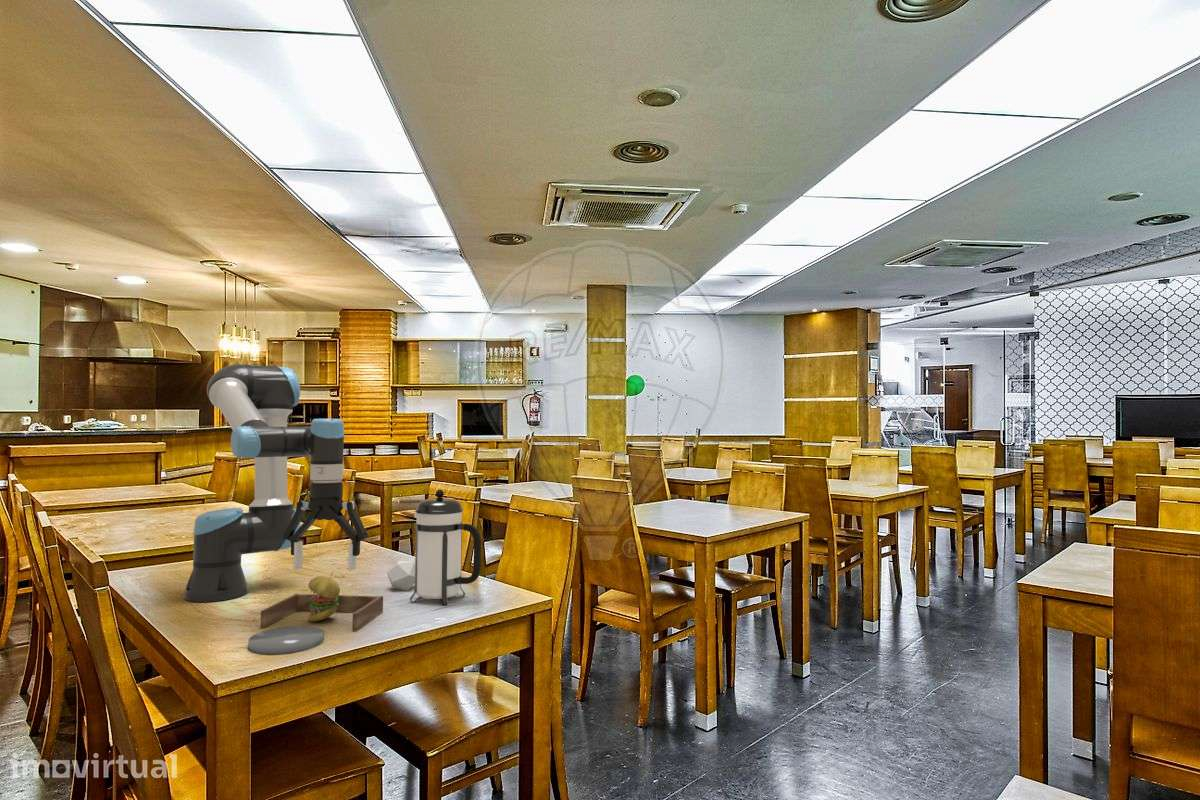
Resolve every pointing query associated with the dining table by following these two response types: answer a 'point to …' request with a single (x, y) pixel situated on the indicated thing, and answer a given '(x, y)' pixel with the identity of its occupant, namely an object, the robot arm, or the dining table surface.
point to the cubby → (360, 605)
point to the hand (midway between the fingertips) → (325, 569)
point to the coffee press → (441, 549)
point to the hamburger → (323, 597)
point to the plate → (286, 639)
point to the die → (402, 575)
